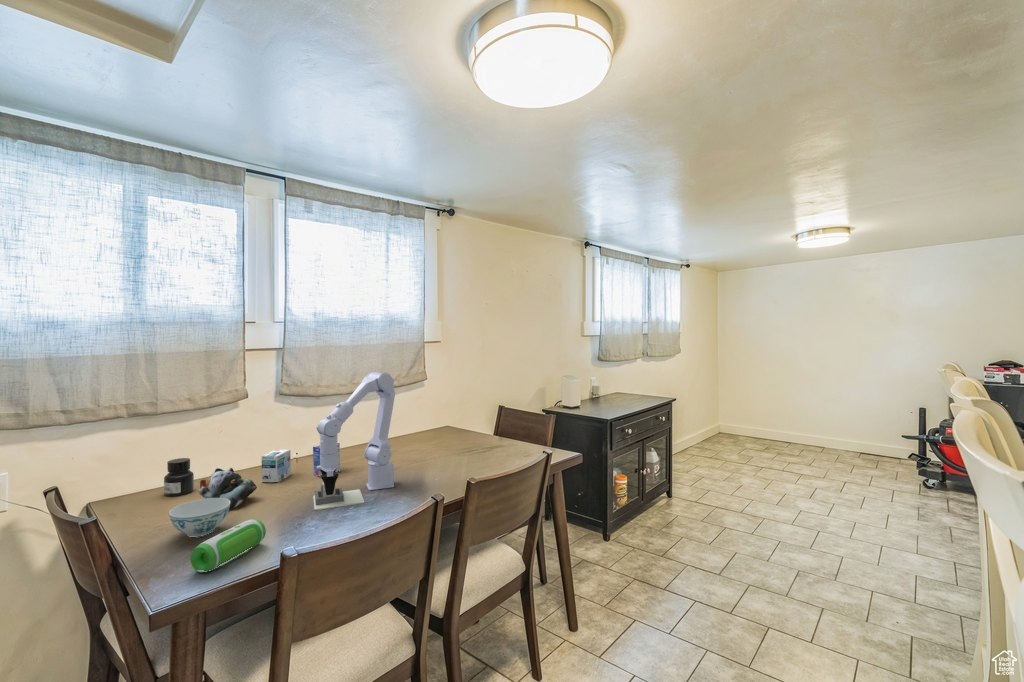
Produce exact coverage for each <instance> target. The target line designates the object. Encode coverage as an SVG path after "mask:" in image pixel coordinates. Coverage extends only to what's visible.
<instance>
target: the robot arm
mask: <svg viewBox="0 0 1024 682" xmlns="http://www.w3.org/2000/svg"><path fill="white" fill-rule="evenodd" d="M394 381H395V379H394V378H393V377H392V376H391V374H390V373H387V372H376V371H371V372H368V373H367V374H366V376H365V377H364V378H362V380H361V382H360V384H359V385H358V386H357V388H355V390H354V392H352V394H351V395H350V396H349V397H348V398H347V399H346V401H341V402H340V403H337V404H336V405H335V408H334V409H333V410H332V411H331V412H330V413H329V414H327V415H326V418H322V419H321V420H320V421H318V422H319V423H318V425H317V427H316V432H318V434H319V445H320V466H317V469H320V471H321V473H322V475H321V477H320V479H321V480H322V483H323V482H324V485H325V491H326V495H333V492H334V487H335V488H336V483H337V480H338V478H339V475H340V474H338V473H335V471H336V469H337V467H338V448H337V443H338V434H340V432H341V430H342V426H343V424H345V422H346V421H347V420H348V419H349V417H351V415H352V414H353V413H354V408H355V406H356V405H357V404H358V403H360V401H362V400H363V399H364V398H365V397H366V395H368V393H373V392H375V393H376V394H377V395H378V396H379V400H378V401H379V402H378V406H377V407H378V408H377V412H376V413H377V414H376V419H375V424H374V430H373V436H372V437H371V439H370V440H369V441H368V444H367V446H366V448H365V450H364V457H365V459H366V460H367V471H368V472H367V476H368V477H367V479H368V481H367V482H366V483H365V486H366V488H367V491H374V490H381V489H383V490H384V489H389V488H394V487H395V476H394V475H395V474H394V473H395V469H394V464H393V463H394V462H392V461H390V460H391V458H392V451H391V446H392V444H391V443H390V440H389V439H388V438H389V433H390V432H389V431H390V427H391V422H392V421H391V420H392V414H393V409H394V404H395V403H394V402H395V396H396V391H395V387H394V386H395V385H394Z"/></svg>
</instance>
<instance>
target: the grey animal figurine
mask: <svg viewBox="0 0 1024 682" xmlns="http://www.w3.org/2000/svg"><path fill="white" fill-rule="evenodd" d="M257 489H258V486H257V485H256V484H255V482H254V480H252V479H250V478H243V477H242V476H241V474H239V473H238V472H237V471H235V470H234V468H233V467H228V468H227V470H224V469H222V468H218V467H217V468H215V470H214V472H213V473H212V474H211V475H210V476H209V477H208V478H206V479H200V481H199V489H198V493H199V495H200V496H201V497H202V499H207V498H225V499H228V500H230V507H229V511H232V510H231V509H233V510H234V509H235V508H236V507H238V506H239V505H241V504H242V502H244V500H246V499H247V498H248V497H249V496H250V495H252V493H254V492H255V491H256V490H257Z"/></svg>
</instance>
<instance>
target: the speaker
mask: <svg viewBox="0 0 1024 682" xmlns="http://www.w3.org/2000/svg"><path fill="white" fill-rule="evenodd" d="M266 531H267V529H266V526H265V524H264V523H263V521H261V520H260V519H258V518H257V519H256V518H253V519H247V520H244V521H243V522H240V523H239V524H236V525H234V526H233V527H230V528H229V529H226V530H224V531H222V532H220V533H218V534H216V535H215V536H212V537H210V538H209V539H207V540H204V541H203V542H201V543H199V544H198V545H197V546H196V547H195V548H194V549H193V550H192V551H191V553H190V564H191V566H192V568H193V569H194V570H195V571H196V570H204V571H209V570H212V569H214V568H216V567H218V566H219V565H220V564H222V563H224V562H226V561H228V560H230V559H231V558H233V557H235V556H237V555H238V554H240V553H242V552H244V551H245V550H247V549H249V548H251V547H253V548H255V547H256V546H257V545H259V544H260V543H261V542H262V541H263V540H264V538H265V537H266ZM254 546H255V547H254ZM214 570H215V569H214ZM212 571H213V570H212ZM209 572H210V571H209Z"/></svg>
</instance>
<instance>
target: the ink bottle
mask: <svg viewBox="0 0 1024 682" xmlns="http://www.w3.org/2000/svg"><path fill="white" fill-rule="evenodd" d="M166 469H167V472H168V473H167V474H166V475H165V476H164V477H163V494H164V496H167V497H177V496H183V495H186V494H189V493H192V492H193V491H194V489H195V488H194V487H195V485H194V484H195V481H194V480H195V479H194V478H195V476H194V475H195V473H194V472H193V471H192V470H190V469H191V459H190V458H188V457H186V458H185V457H183V458H182V457H180V458H174V459H170V460H168V461H167V467H166Z"/></svg>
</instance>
